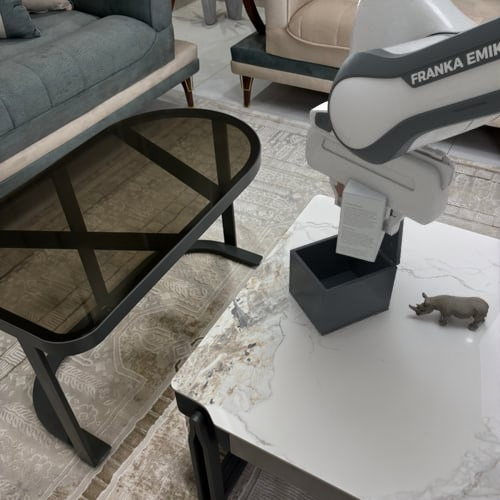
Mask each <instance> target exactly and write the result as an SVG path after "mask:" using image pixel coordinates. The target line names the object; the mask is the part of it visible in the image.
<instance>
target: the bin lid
mask: <svg viewBox="0 0 500 500" xmlns="http://www.w3.org/2000/svg"><path fill="white" fill-rule="evenodd" d="M392 213H393V210H392V209H391V210H390V215H389V217H390V216H393V215H392ZM393 217H396V216H393ZM404 222H405V218H404V219H403V220H402V221H400V225H399V229H398V231H397V232H396V233H395V234H393V235H389V234H388V233H386V232H385V234H384V237H383V239H382V242H381V245H380V247H379V250H380V251H382V252H383V253H384V254H385V255H386V256H387V257H388V258H389V259H390V260H391V261H392V262H393V263H394V264H395V265H396V266H397V267H398V266H400V264H401V258H402V257H401V255H402V248H403V247H402V245H403V244H402V243H403V235H404V224H405V223H404Z"/></svg>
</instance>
